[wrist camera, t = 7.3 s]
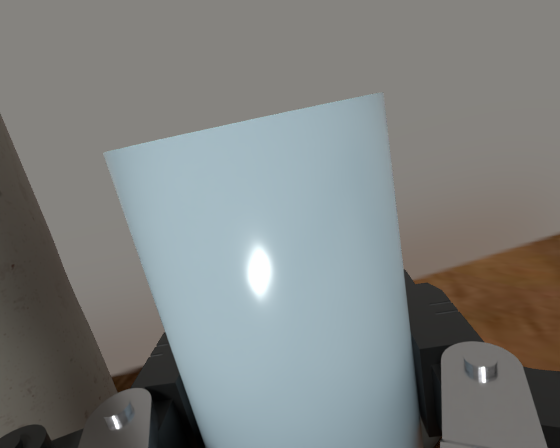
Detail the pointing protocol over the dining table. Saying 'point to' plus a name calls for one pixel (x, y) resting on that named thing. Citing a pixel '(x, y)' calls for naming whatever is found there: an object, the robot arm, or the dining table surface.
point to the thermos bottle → (40, 320)
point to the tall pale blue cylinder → (280, 276)
